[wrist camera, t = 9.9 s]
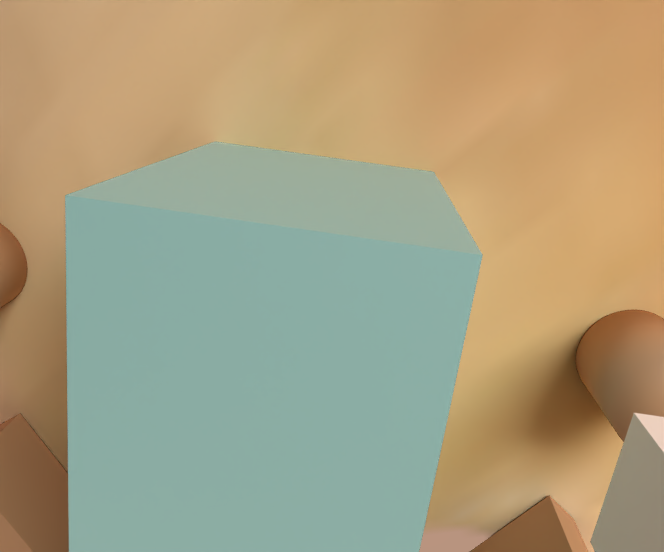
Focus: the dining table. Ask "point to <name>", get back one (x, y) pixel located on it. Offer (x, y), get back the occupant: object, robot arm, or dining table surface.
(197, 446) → the pale green block
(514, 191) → the dining table surface
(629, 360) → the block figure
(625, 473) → the robot arm
